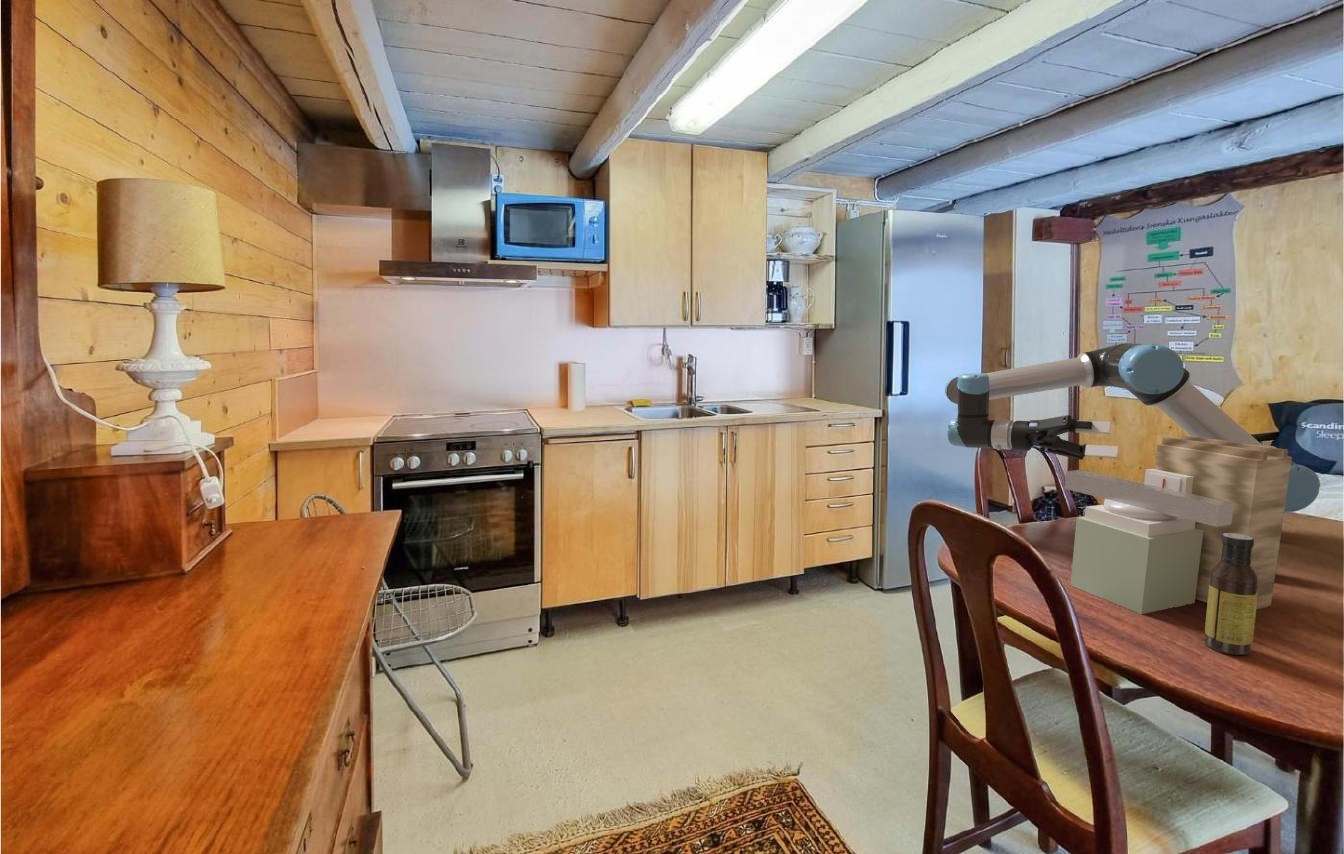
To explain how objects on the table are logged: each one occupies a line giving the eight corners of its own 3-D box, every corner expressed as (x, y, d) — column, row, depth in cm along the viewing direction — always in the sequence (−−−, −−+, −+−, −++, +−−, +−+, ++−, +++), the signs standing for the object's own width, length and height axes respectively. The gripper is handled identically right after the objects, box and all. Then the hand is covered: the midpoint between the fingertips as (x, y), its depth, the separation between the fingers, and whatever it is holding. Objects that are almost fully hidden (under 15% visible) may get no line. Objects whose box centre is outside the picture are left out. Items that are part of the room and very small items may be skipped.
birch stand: (1142, 579, 140) (1158, 437, 136) (1174, 574, 144) (1190, 434, 139) (1237, 613, 123) (1258, 452, 119) (1270, 606, 127) (1293, 449, 122)
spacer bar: (1064, 488, 143) (1066, 471, 143) (1077, 487, 145) (1079, 469, 144) (1216, 526, 116) (1219, 505, 115) (1231, 524, 117) (1233, 503, 116)
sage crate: (1070, 585, 138) (1076, 517, 135) (1120, 576, 142) (1127, 510, 140) (1141, 614, 123) (1149, 539, 121) (1194, 603, 128) (1203, 530, 126)
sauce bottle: (1260, 654, 108) (1276, 540, 105) (1231, 659, 107) (1247, 543, 104) (1220, 637, 114) (1234, 529, 111) (1192, 641, 113) (1206, 531, 110)
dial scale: (1084, 518, 135) (1089, 471, 133) (1135, 511, 140) (1140, 466, 138) (1147, 536, 123) (1153, 485, 121) (1201, 528, 127) (1207, 479, 126)
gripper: (1022, 467, 170) (1118, 475, 156) (998, 427, 153) (1104, 432, 139) (1026, 442, 173) (1122, 447, 158) (1004, 399, 156) (1108, 401, 141)
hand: (1114, 440), depth 149 cm, fingers open, 13 cm apart
